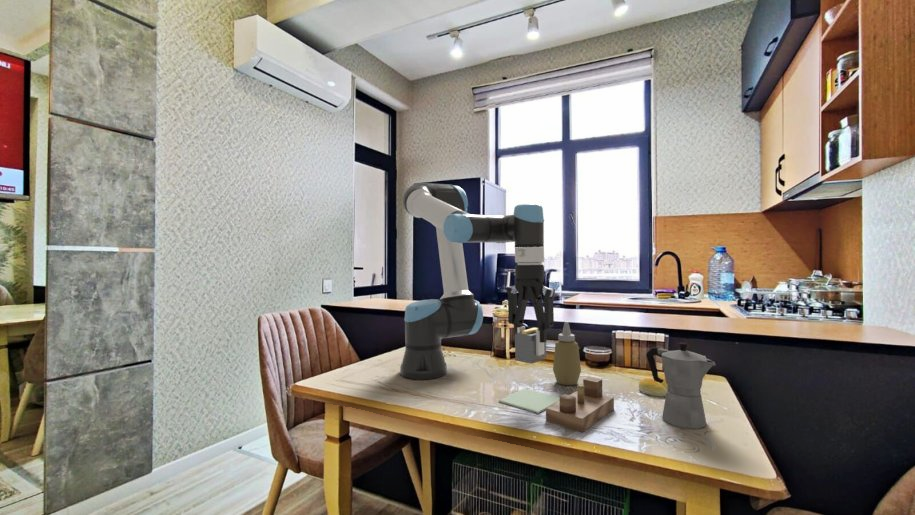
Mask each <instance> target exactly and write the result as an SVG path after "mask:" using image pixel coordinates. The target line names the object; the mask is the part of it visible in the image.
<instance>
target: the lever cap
mask: <svg viewBox="0 0 915 515" xmlns="http://www.w3.org/2000/svg"><path fill="white" fill-rule="evenodd" d="M537 328H538V327H531V328H528V329H525V330H523V331H522V332H519V333H515V332H514V348H515V349H514V354H515V355H514V356H515V362H517V361H518V362H521V363H525V364H526V363H527V364H535V363H537V362H540V361H542V360H545V359H547V341H546V342H544V354H543V355H540V356H537V355H536V330H537Z"/></svg>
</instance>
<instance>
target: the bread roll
mask: <svg viewBox="0 0 915 515" xmlns="http://www.w3.org/2000/svg"><path fill="white" fill-rule="evenodd" d="M658 377H659V378H660V379H663V382H662V383H659V382H656V381H655V380H654V378H653V377H652V378H649V377H645V378H643V379H641V380H640V381H639V383H638V388H639V391H640V392H642V393H643V394H646V395H648V396H649V395H650V396H652V397H653V396H654V397H666V392H667V383H666V380H665V376H658Z"/></svg>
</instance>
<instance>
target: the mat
mask: <svg viewBox="0 0 915 515" xmlns="http://www.w3.org/2000/svg"><path fill="white" fill-rule="evenodd" d="M558 401H560V396H557V395H551V394H548V393H545V392H541V391H536V390H533V389H528V388H525V387H524V388H522V389H519V390H518V391H516V392H513V393H511V394H508V395H506V396H504V397H502V398H500V399H498V402H499V403H502V404H505V405H508V406H511V407H515V408H517V409H521V410H524V409H526V410H525V411H528V410H529V411H528V412H531V411H532V413H534V412H536V413H535V414H538V413H539V414H541V413H543V412H544V410H545V411H546V408H547V407H549V406H551V405H552V404H554V403H556V402H558ZM542 411H543V412H542ZM540 412H541V413H540Z"/></svg>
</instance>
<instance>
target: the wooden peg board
mask: <svg viewBox="0 0 915 515" xmlns="http://www.w3.org/2000/svg"><path fill="white" fill-rule="evenodd" d="M582 379H583V378H582ZM582 382H583V383H582V384H576V385H577V387H576V388H577V390H576V391H574V392H572V393H571V394H561V395H559V397H560V401H558V402H556V403H554V404H552V405H551V406H549V407H547V408H546V410H545V422H548V423H552V424H554V425H556V426H560V427H563V428H567V429H571V430H574V431H577V432H580V433H584V432H585V431H586V430H588V429H589V428H591V427H592V426H594V425H595V424H596V423H598V422H599V421H600V420H602V419H603V418H604V417H605V416H607V415H608V414H610V413H611V412H612V411H614V410H615V397H614V396H610V395H605V394H603V379H602V378H597V377H592V376H587V377H585V378H584V379H583V381H582Z"/></svg>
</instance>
